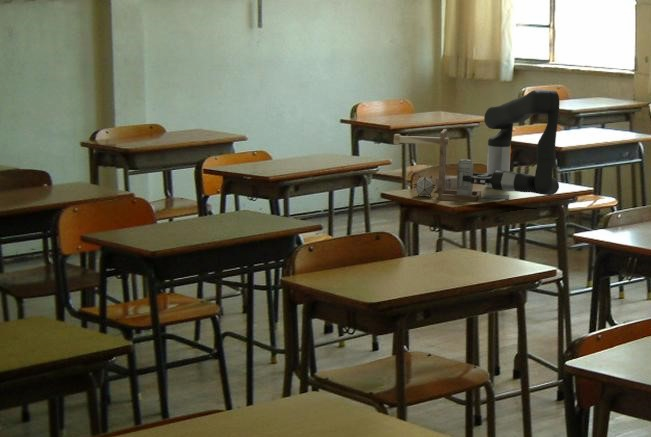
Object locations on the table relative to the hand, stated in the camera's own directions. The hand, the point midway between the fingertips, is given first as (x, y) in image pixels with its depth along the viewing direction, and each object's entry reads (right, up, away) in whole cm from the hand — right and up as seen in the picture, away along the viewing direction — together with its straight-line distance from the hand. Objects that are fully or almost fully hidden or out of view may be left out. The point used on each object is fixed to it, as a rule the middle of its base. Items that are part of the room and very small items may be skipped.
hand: (467, 176), depth 473 cm
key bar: (-18, +13, +2) cm, 22 cm away
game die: (-16, -8, +5) cm, 19 cm away
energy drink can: (-1, -8, +2) cm, 9 cm away
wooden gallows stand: (-2, -8, +2) cm, 9 cm away
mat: (+12, -8, +6) cm, 15 cm away
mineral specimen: (-6, -5, +21) cm, 23 cm away
